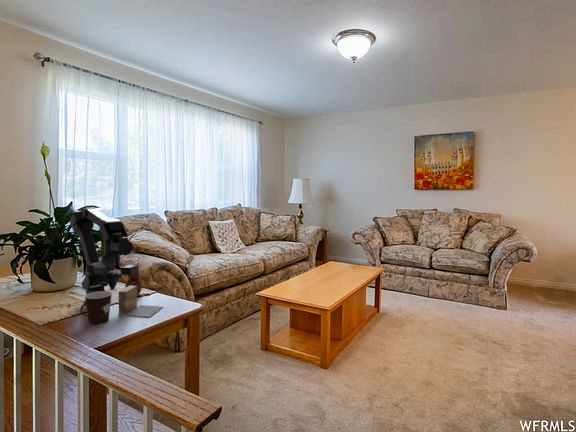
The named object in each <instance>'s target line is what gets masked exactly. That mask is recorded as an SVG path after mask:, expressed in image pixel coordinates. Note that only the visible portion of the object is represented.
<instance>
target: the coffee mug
mask: <svg viewBox="0 0 576 432" xmlns="http://www.w3.org/2000/svg"><path fill="white" fill-rule="evenodd" d="M84 301H86V303H84V302H83V304H82V305H81V306H80V308H79V309H80V310H79V311H80V314H81V315H82V316H83V317H87V319H88V324H90V325H94V326H95V325H103V324H105V323H107V322H108V321H109V318H110V309H111V303H112V292H111V291H107V290H105V291H98V292H92V293H89V294H87V295H86V294H85V295H84ZM85 306H86V313H87V314H85V313H84V312H83V308H84V307H85Z"/></svg>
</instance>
